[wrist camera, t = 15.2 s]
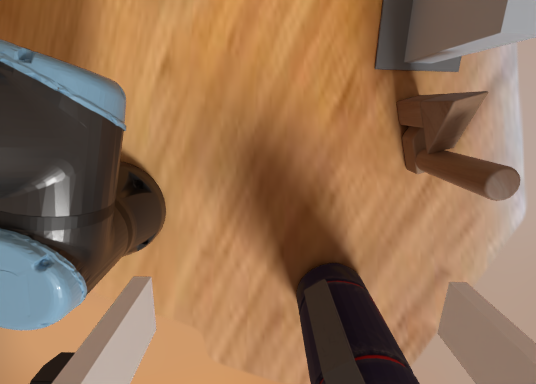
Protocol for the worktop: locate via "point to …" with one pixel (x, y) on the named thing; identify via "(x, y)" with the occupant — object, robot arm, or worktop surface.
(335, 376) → the grenade
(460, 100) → the brown long-handled part
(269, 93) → the worktop surface
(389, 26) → the mat
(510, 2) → the grey rectangular block
